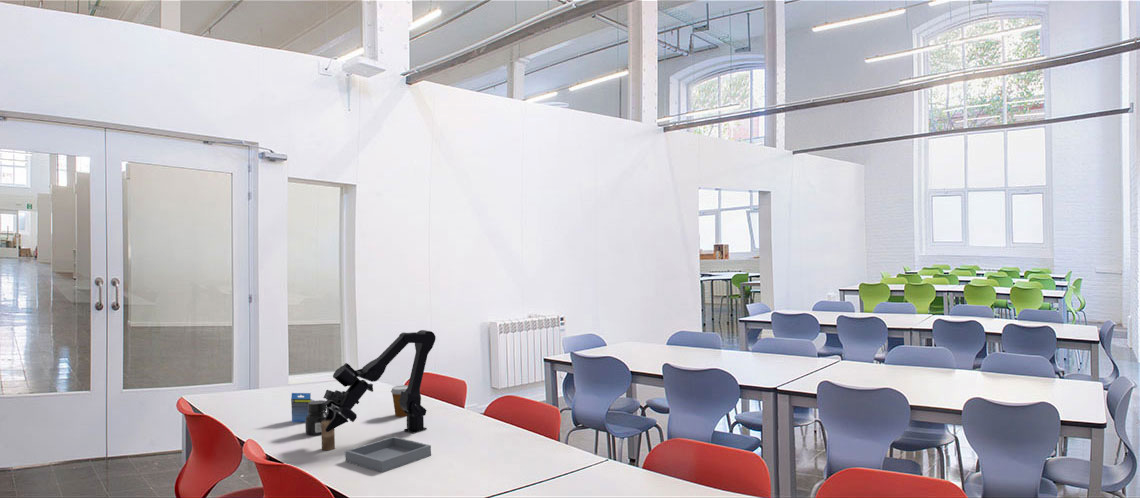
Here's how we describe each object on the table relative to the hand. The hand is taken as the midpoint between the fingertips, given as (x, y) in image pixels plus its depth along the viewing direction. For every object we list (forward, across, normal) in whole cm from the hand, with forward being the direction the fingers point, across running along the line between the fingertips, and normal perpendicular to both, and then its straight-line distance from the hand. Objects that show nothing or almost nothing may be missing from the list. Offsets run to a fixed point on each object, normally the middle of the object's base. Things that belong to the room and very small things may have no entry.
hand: (323, 429), depth 231 cm
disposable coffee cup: (-25, -26, +35) cm, 50 cm away
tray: (-4, +26, +14) cm, 30 cm away
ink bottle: (+1, -25, +9) cm, 26 cm away
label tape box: (0, -48, +10) cm, 49 cm away
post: (+4, 0, +6) cm, 7 cm away
